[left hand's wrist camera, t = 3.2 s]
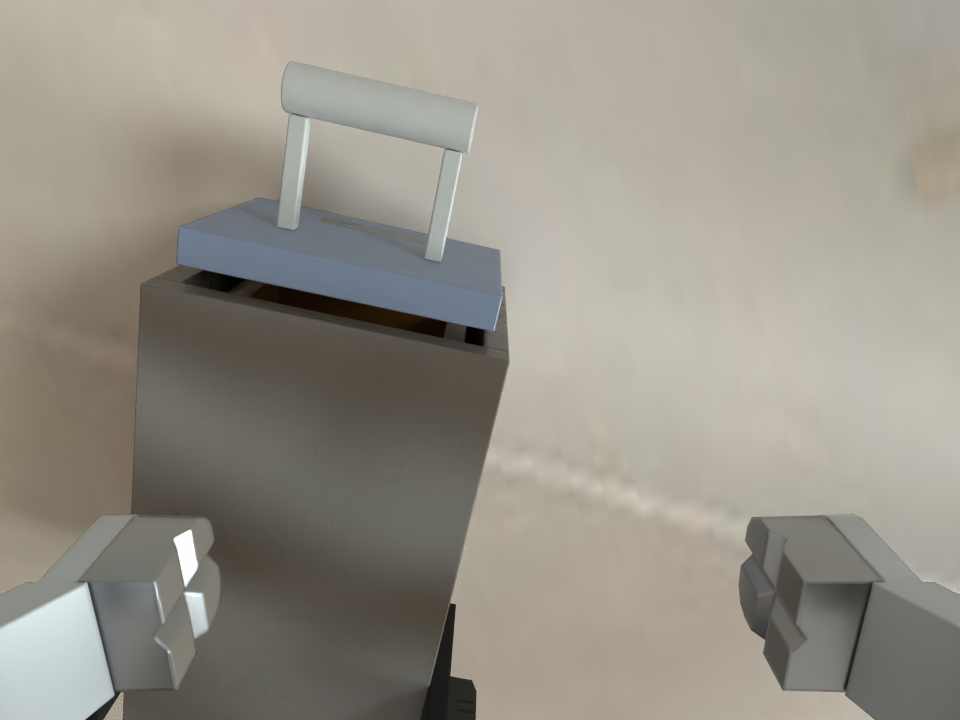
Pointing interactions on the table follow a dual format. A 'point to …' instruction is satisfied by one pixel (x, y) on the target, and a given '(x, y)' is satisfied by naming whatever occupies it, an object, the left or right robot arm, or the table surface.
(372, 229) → the drawer
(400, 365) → the cabinet
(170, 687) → the left robot arm
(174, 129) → the table surface
